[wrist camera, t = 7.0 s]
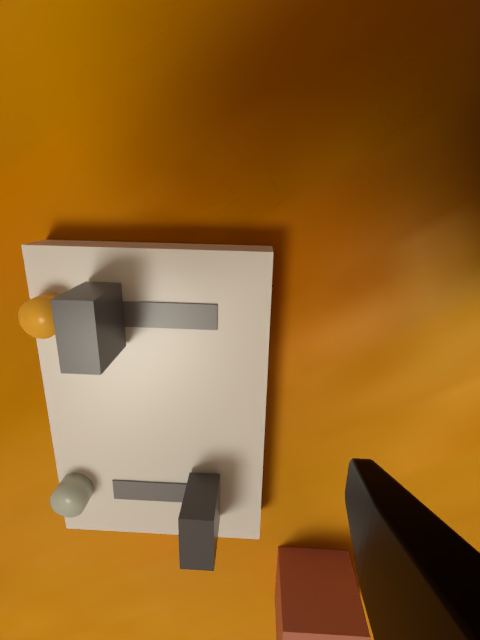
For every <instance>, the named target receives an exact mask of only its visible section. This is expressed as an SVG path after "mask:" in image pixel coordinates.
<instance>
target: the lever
mask: <svg viewBox="0 0 480 640" xmlns="http://www.w3.org/2000/svg"><path fill="white" fill-rule="evenodd" d="M219 523H220V474H212V473H193V472H190V473H189V477H188V481H187V485H186V489H185V493H184V497H183V501H182V505H181V509H180V513H179V517H178V529H179V555H180V569H191V570H208V571H214V565H215V557H216V548H217V540H218V532H219Z"/></svg>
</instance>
